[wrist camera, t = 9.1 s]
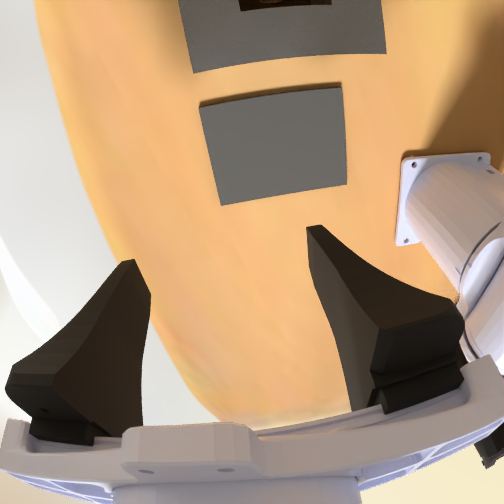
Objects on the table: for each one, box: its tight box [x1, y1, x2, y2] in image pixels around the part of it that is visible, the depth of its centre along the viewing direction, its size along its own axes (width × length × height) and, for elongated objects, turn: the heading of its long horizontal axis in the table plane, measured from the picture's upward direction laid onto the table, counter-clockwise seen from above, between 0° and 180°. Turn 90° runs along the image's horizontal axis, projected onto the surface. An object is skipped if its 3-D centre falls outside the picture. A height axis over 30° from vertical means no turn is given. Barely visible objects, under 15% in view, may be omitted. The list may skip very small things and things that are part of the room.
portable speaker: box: [455, 313, 504, 469], centre depth 28 cm, size 9×9×20 cm
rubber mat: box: [199, 87, 347, 206], centre depth 20 cm, size 9×7×1 cm
